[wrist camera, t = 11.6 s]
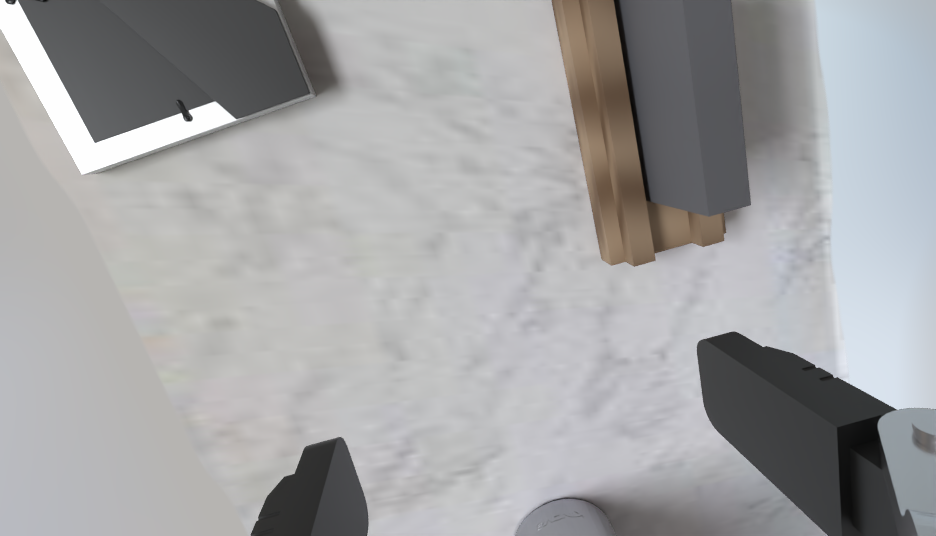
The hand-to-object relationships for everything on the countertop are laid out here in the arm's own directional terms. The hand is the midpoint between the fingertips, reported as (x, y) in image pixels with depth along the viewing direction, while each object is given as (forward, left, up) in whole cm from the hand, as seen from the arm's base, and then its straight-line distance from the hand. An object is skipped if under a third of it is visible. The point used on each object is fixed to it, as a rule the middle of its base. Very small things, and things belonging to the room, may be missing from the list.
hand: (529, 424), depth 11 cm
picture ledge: (+5, -15, -27) cm, 31 cm away
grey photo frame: (+5, -15, -25) cm, 29 cm away
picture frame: (+21, +15, -27) cm, 37 cm away
